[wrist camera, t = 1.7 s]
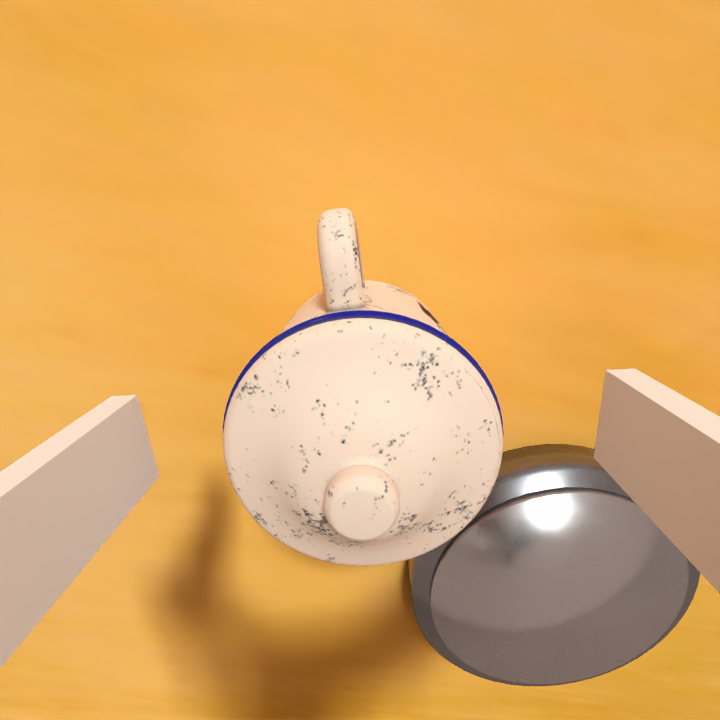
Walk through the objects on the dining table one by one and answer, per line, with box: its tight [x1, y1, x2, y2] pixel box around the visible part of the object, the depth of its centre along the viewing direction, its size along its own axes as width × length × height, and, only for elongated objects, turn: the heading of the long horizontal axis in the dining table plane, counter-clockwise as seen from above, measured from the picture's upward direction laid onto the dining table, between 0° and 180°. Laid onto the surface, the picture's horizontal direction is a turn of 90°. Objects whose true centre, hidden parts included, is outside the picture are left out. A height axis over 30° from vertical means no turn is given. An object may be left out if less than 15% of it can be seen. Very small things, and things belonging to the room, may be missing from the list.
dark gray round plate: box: [408, 444, 700, 686], centre depth 24 cm, size 16×16×3 cm
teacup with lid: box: [223, 208, 503, 566], centre depth 15 cm, size 12×9×12 cm
